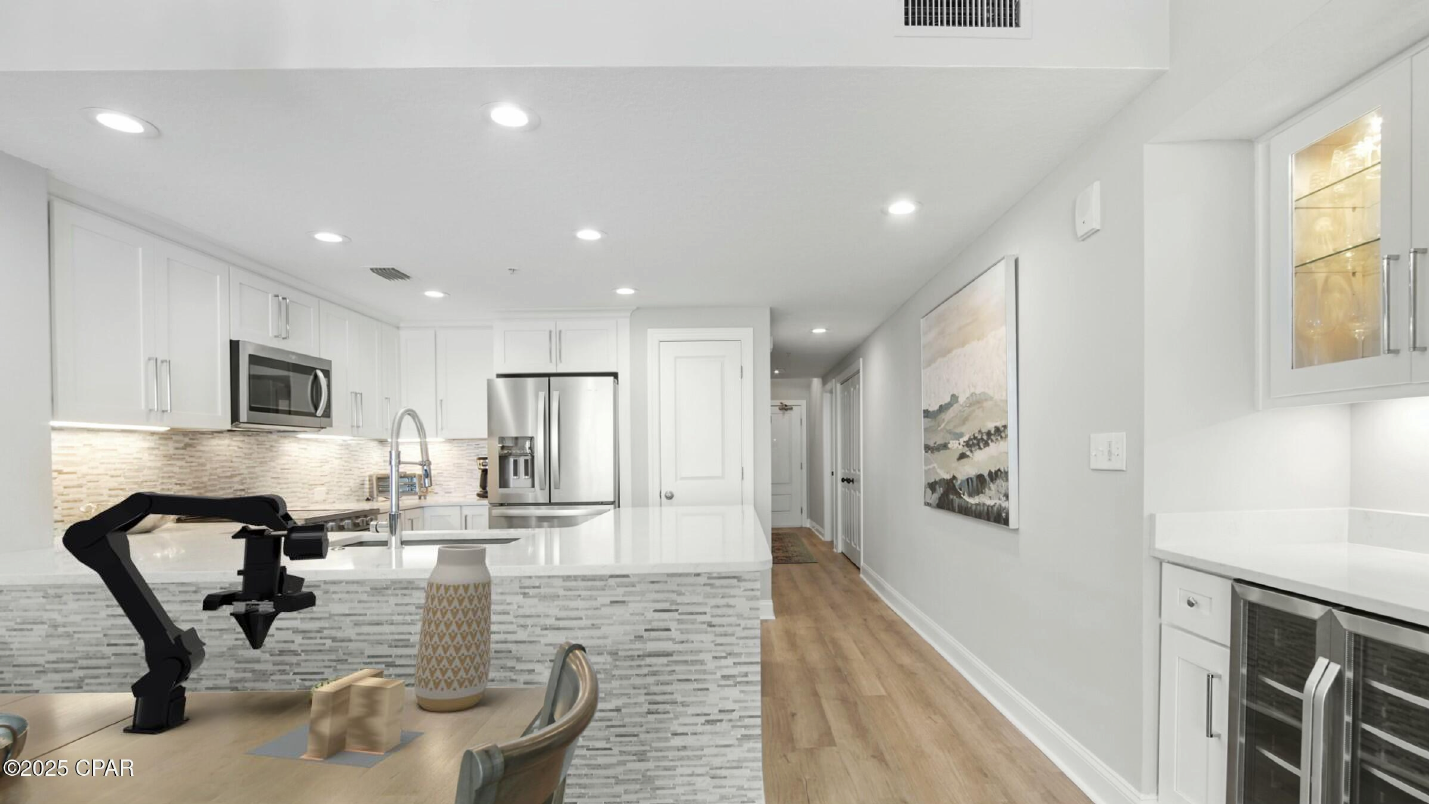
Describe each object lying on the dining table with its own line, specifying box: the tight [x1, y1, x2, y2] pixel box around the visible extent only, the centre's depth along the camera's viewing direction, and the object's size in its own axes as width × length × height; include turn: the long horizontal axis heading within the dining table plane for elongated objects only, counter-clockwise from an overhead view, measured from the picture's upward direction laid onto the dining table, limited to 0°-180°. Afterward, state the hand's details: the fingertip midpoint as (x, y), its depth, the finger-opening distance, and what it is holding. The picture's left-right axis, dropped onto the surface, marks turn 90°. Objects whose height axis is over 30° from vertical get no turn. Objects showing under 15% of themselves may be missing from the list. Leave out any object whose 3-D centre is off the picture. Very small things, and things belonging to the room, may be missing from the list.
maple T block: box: [307, 668, 406, 759], centre depth 106 cm, size 10×12×10 cm
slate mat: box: [244, 722, 426, 769], centre depth 106 cm, size 22×14×1 cm, turn 81°
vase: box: [414, 543, 492, 713], centre depth 128 cm, size 14×14×31 cm
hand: (257, 648), depth 118 cm, fingers closed
